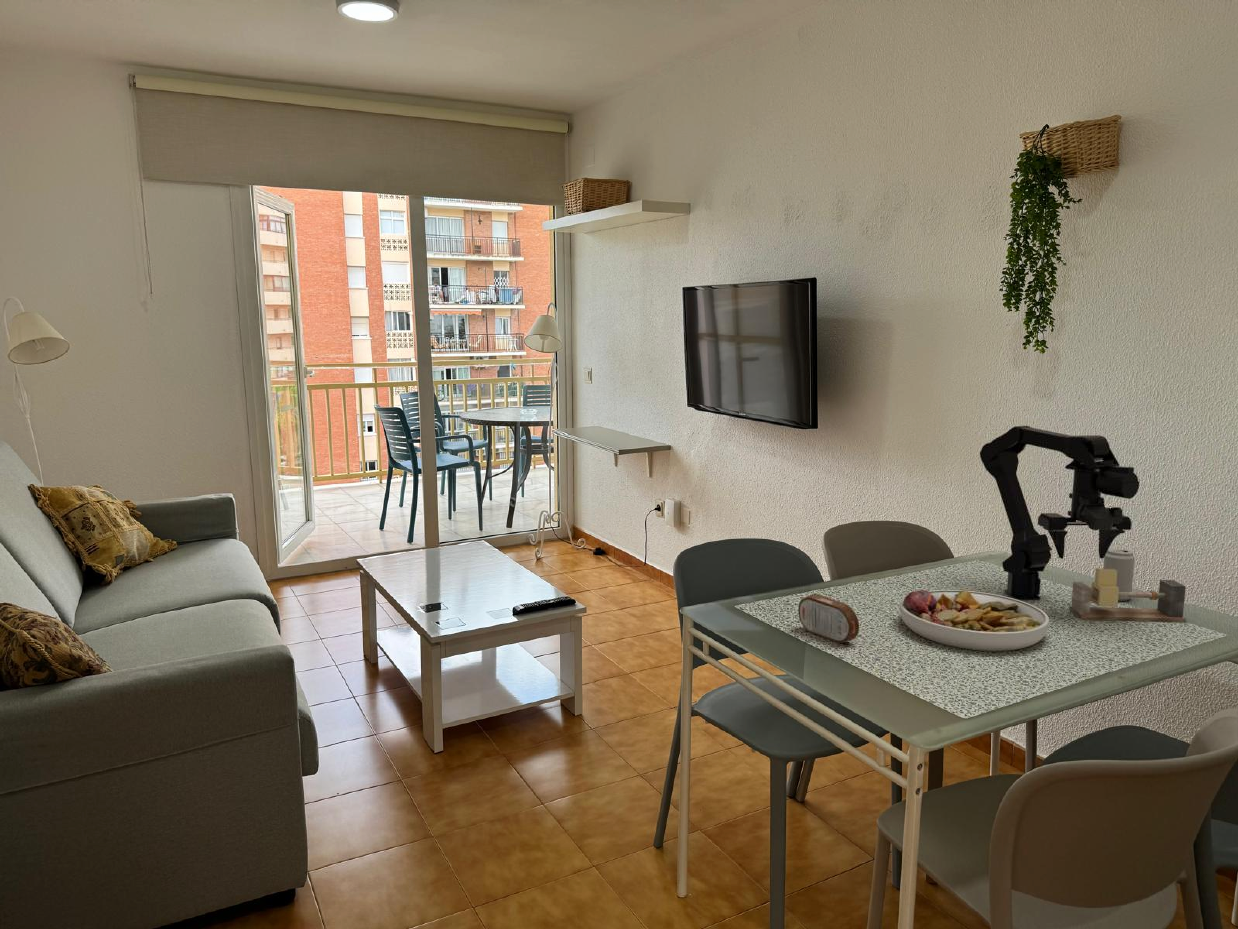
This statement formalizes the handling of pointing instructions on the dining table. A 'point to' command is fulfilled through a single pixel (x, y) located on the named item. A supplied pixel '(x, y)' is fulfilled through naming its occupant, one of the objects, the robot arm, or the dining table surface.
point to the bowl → (973, 619)
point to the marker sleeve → (1105, 588)
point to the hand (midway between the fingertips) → (1081, 558)
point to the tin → (828, 618)
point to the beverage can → (1121, 568)
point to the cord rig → (1166, 611)
